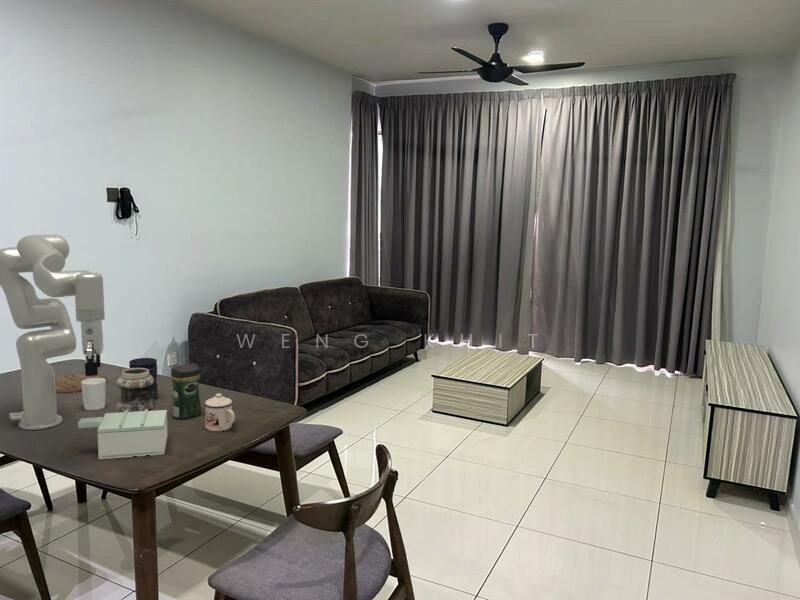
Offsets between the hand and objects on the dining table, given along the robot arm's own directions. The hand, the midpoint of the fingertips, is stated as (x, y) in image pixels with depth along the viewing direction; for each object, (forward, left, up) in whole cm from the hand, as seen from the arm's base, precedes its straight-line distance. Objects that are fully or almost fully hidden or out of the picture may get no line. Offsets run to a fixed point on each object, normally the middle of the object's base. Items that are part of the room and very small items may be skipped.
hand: (93, 371), depth 181 cm
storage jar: (+9, +47, -25) cm, 54 cm away
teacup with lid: (+37, +11, -25) cm, 46 cm away
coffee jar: (+25, +26, -25) cm, 44 cm away
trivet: (-20, +71, -25) cm, 78 cm away
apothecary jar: (+9, +23, -25) cm, 35 cm away
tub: (+11, -1, -25) cm, 27 cm away
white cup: (-7, +40, -25) cm, 48 cm away
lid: (+8, -1, -16) cm, 18 cm away
